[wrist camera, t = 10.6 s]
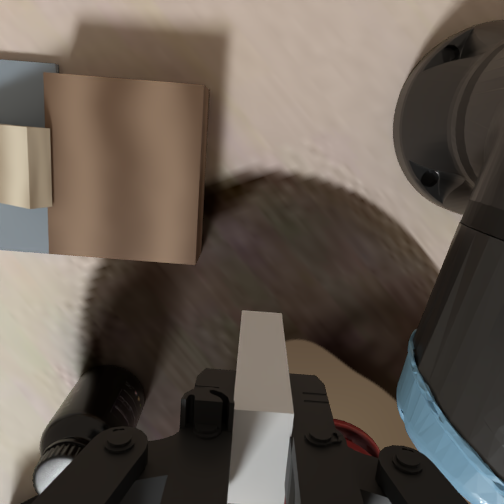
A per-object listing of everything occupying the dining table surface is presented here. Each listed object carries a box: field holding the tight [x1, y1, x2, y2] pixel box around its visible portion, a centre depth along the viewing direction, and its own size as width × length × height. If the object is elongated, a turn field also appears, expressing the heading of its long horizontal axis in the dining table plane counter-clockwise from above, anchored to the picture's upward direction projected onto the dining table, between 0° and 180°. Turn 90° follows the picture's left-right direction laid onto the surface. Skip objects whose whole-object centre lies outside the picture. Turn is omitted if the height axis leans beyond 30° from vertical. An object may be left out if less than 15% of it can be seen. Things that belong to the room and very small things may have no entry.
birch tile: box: [0, 124, 52, 209], centre depth 37 cm, size 8×6×2 cm
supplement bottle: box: [32, 365, 144, 495], centre depth 40 cm, size 7×7×12 cm
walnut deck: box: [43, 72, 209, 265], centre depth 39 cm, size 12×14×4 cm
